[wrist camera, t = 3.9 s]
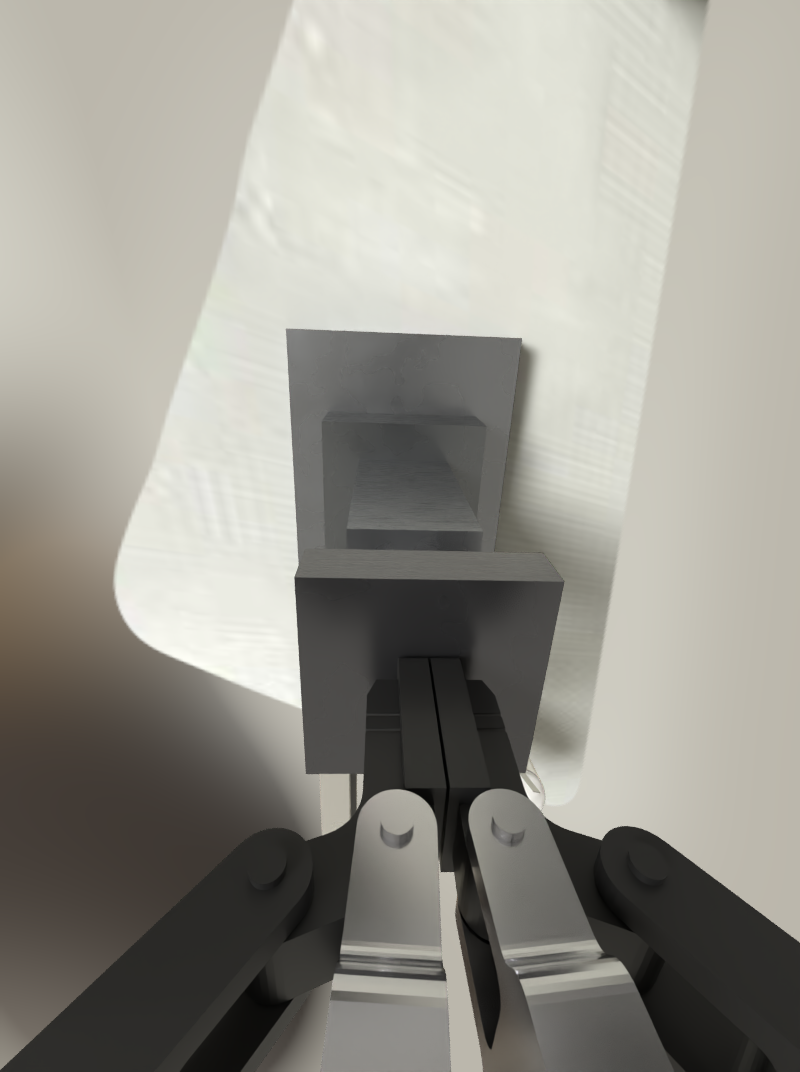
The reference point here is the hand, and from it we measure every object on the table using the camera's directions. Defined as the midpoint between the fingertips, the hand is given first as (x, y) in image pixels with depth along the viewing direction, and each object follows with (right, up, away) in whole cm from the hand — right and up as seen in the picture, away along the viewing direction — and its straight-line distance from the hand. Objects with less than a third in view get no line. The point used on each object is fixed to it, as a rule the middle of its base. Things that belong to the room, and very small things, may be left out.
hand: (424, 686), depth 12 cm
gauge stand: (-1, +6, +17) cm, 18 cm away
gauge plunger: (0, +2, +11) cm, 12 cm away
